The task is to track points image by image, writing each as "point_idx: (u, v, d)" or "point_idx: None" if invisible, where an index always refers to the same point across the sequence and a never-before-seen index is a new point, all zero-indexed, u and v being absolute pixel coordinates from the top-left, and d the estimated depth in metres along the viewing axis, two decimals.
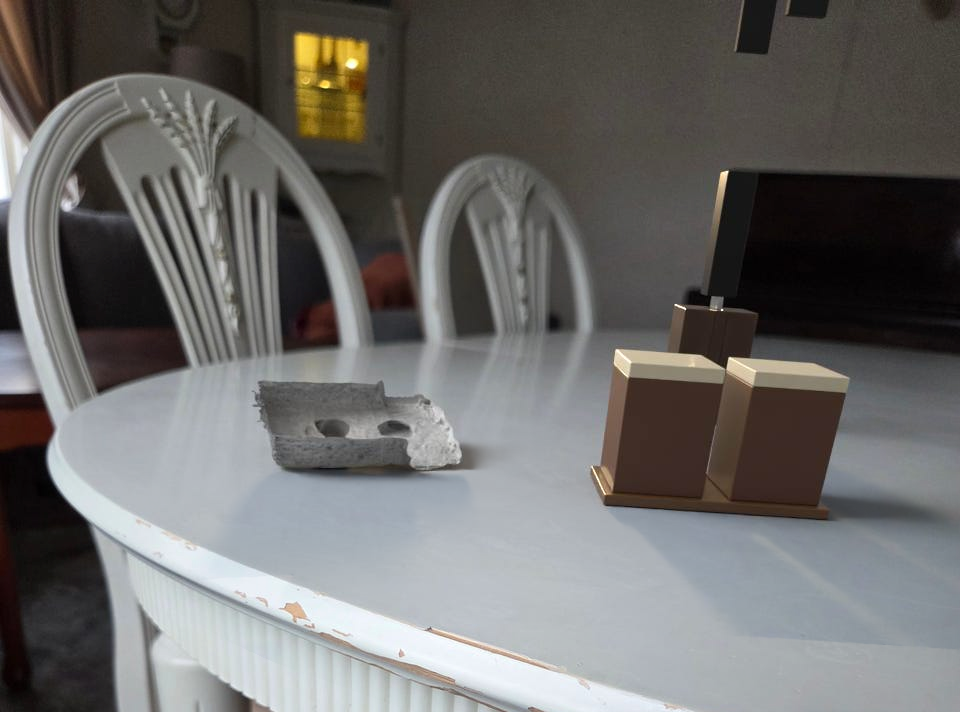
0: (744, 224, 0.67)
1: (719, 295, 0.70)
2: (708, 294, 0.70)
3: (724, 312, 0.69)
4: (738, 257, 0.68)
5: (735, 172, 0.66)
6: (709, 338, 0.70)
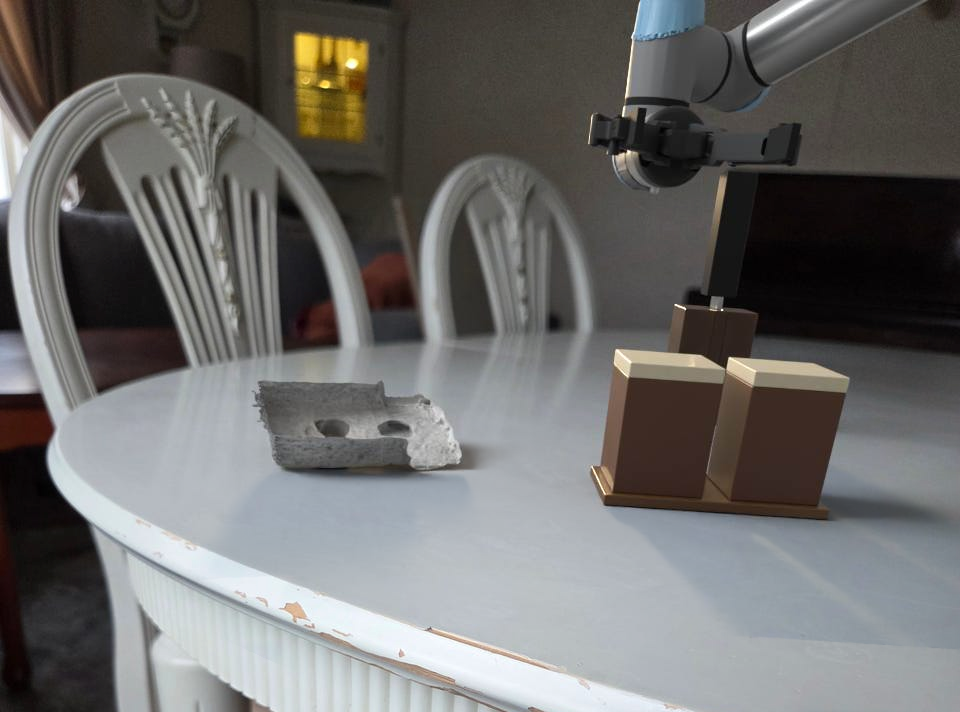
0: (744, 224, 0.67)
1: (719, 295, 0.70)
2: (708, 294, 0.70)
3: (724, 312, 0.69)
4: (738, 257, 0.68)
5: (735, 172, 0.66)
6: (709, 338, 0.70)
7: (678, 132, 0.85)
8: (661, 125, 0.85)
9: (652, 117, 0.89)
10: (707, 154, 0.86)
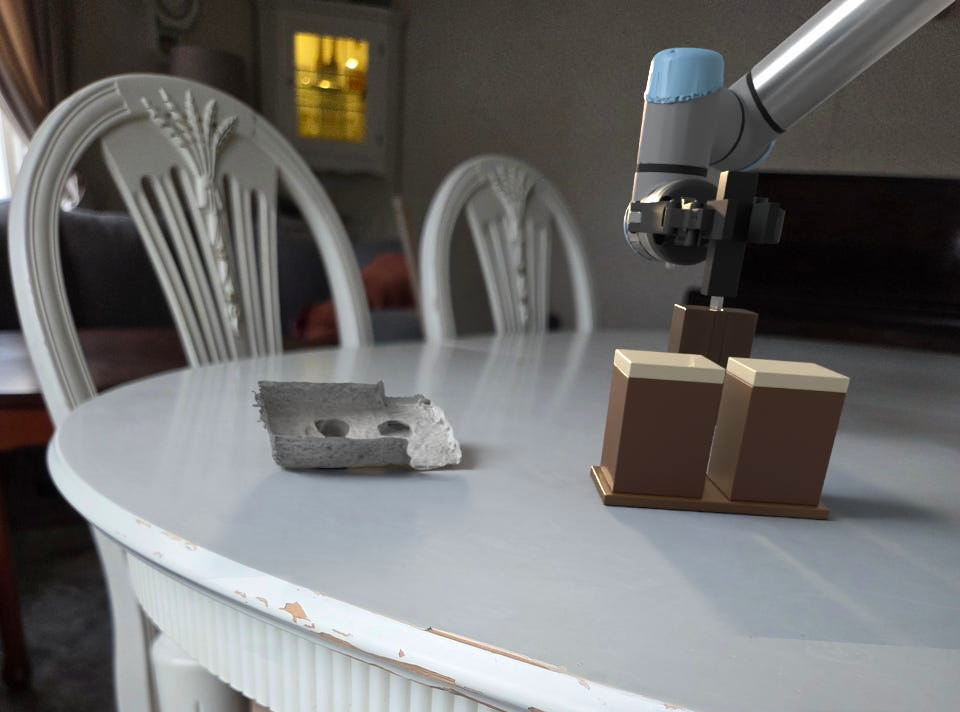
0: (744, 224, 0.67)
1: (719, 295, 0.70)
2: (708, 294, 0.70)
3: (724, 312, 0.69)
4: (738, 257, 0.68)
5: (735, 172, 0.66)
6: (709, 338, 0.70)
7: None
8: None
9: (667, 191, 0.80)
10: None
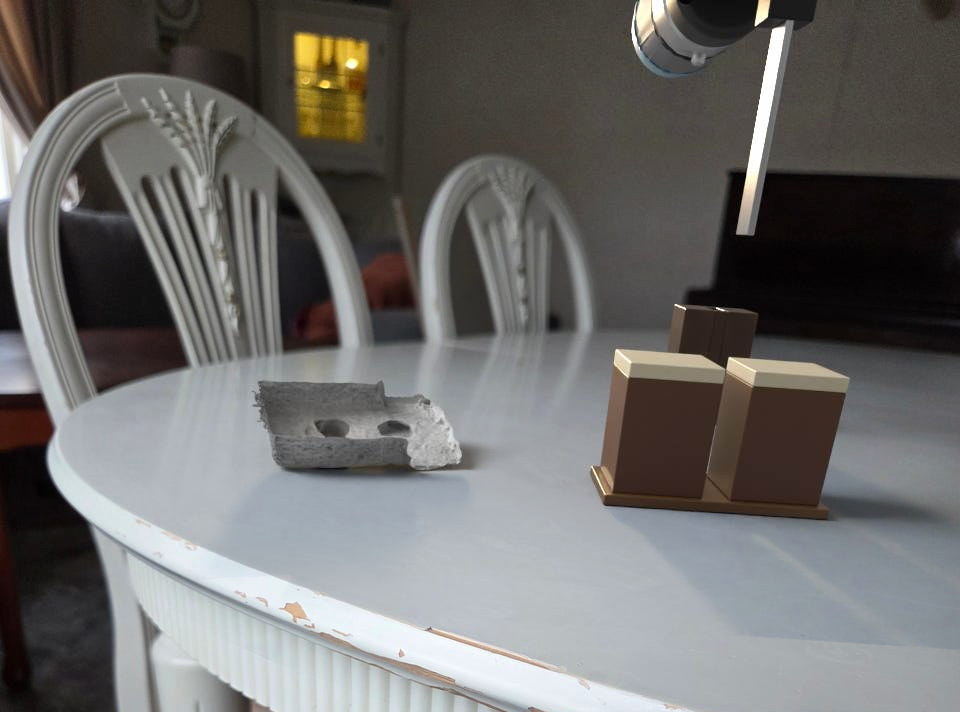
0: None
1: (787, 17, 0.44)
2: (770, 15, 0.44)
3: (724, 312, 0.69)
4: None
5: None
6: (709, 338, 0.70)
7: None
8: None
9: None
10: None
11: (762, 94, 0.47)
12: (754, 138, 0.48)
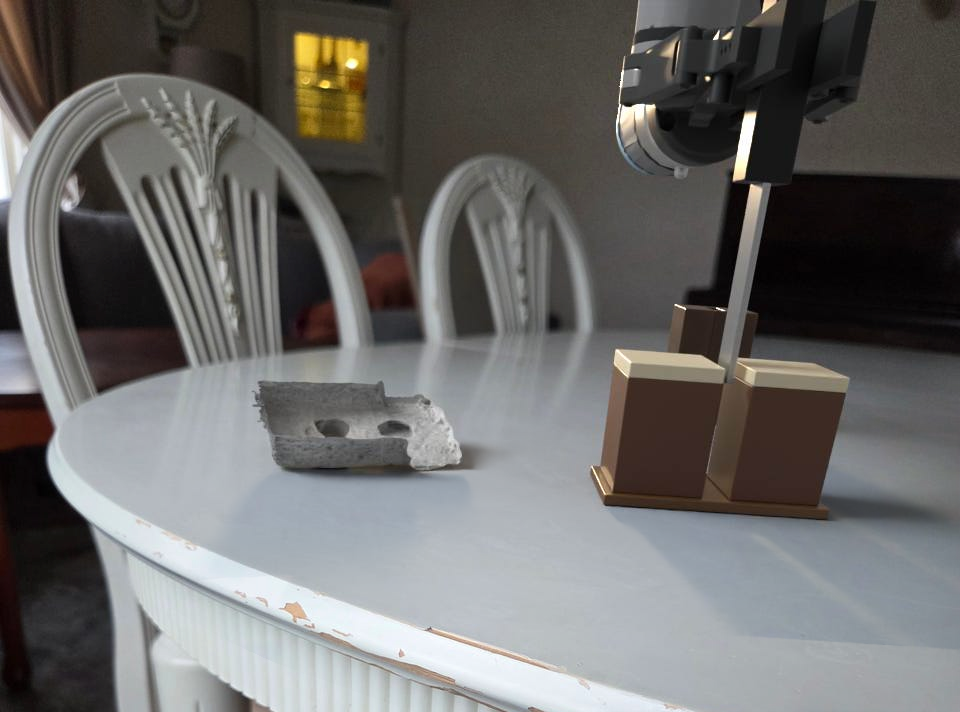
0: (808, 58, 0.41)
1: (764, 180, 0.43)
2: (746, 178, 0.43)
3: (724, 312, 0.69)
4: (796, 115, 0.42)
5: None
6: (709, 338, 0.70)
7: None
8: None
9: None
10: None
11: (740, 246, 0.47)
12: (733, 287, 0.48)
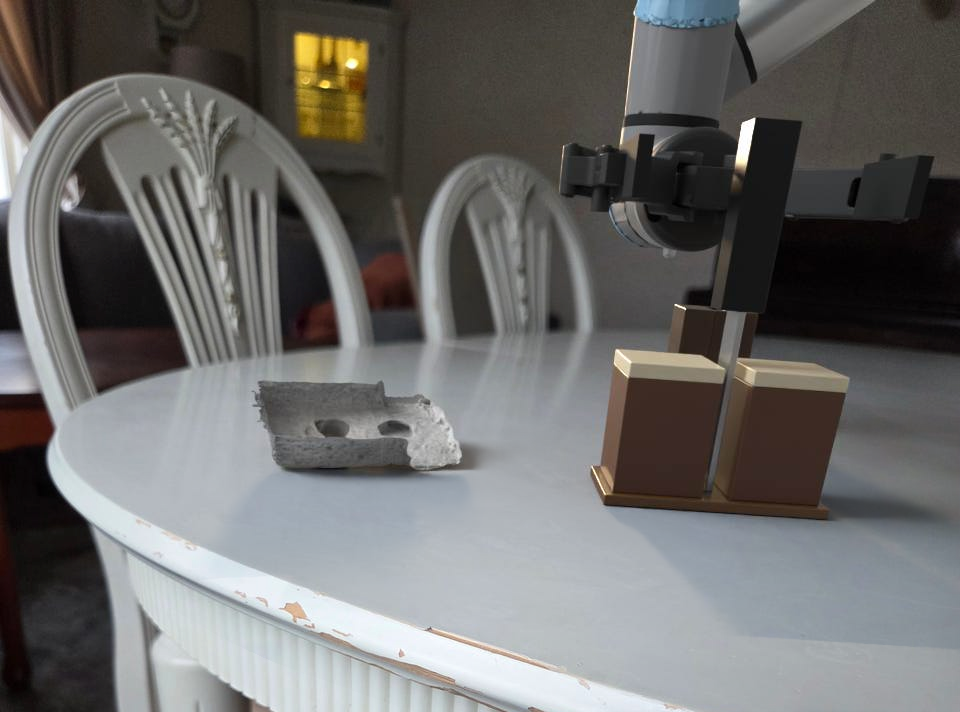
0: (779, 202, 0.44)
1: (739, 309, 0.46)
2: (723, 308, 0.46)
3: (724, 312, 0.69)
4: (769, 252, 0.45)
5: (766, 120, 0.42)
6: (709, 338, 0.70)
7: (707, 170, 0.52)
8: (679, 159, 0.52)
9: (665, 145, 0.56)
10: None
11: (718, 364, 0.49)
12: None
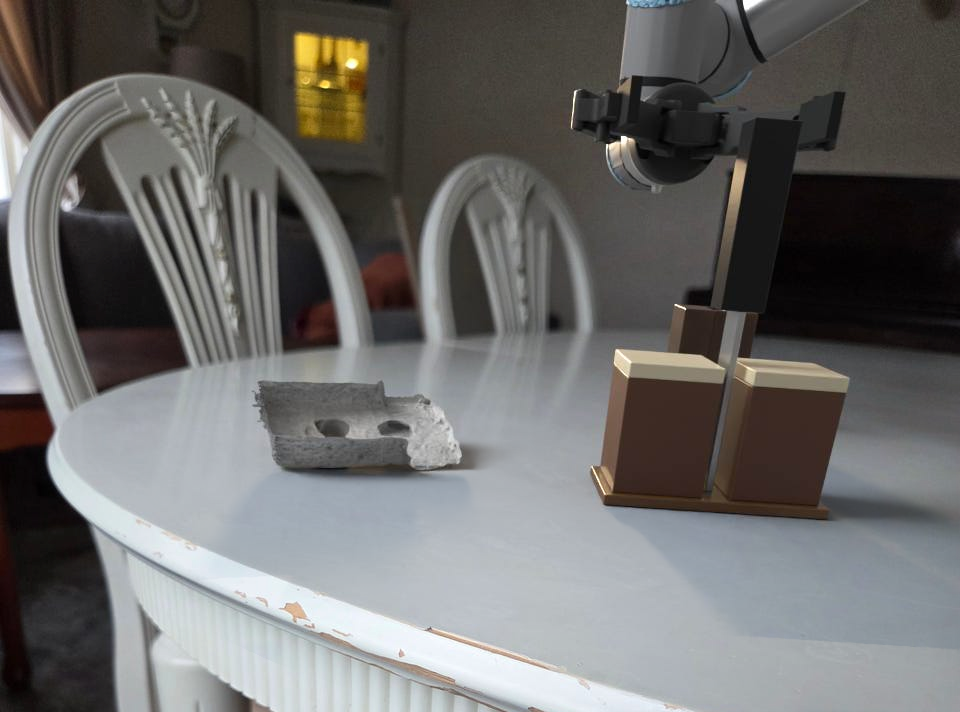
0: (779, 202, 0.44)
1: (739, 309, 0.46)
2: (723, 308, 0.46)
3: (724, 312, 0.69)
4: (769, 252, 0.45)
5: (766, 120, 0.42)
6: (709, 338, 0.70)
7: (684, 113, 0.68)
8: (663, 105, 0.68)
9: (652, 97, 0.72)
10: (721, 140, 0.69)
11: (718, 364, 0.49)
12: None
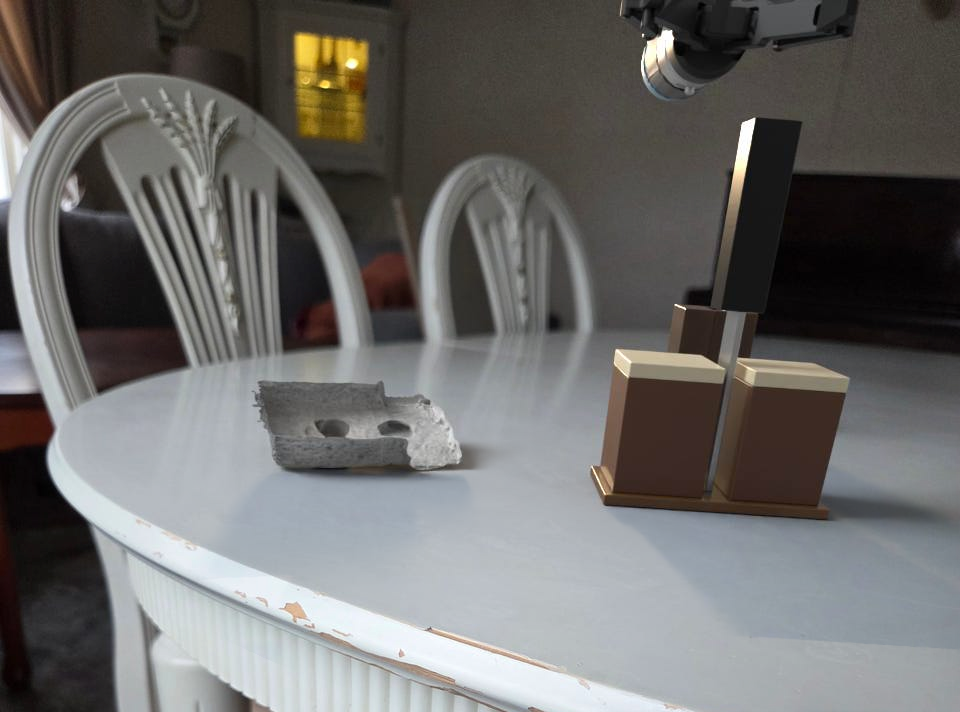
0: (779, 202, 0.44)
1: (739, 309, 0.46)
2: (723, 308, 0.46)
3: (724, 312, 0.69)
4: (769, 252, 0.45)
5: (766, 120, 0.42)
6: (709, 338, 0.70)
7: (719, 7, 0.76)
8: (700, 0, 0.76)
9: None
10: (751, 33, 0.78)
11: (718, 364, 0.49)
12: None
